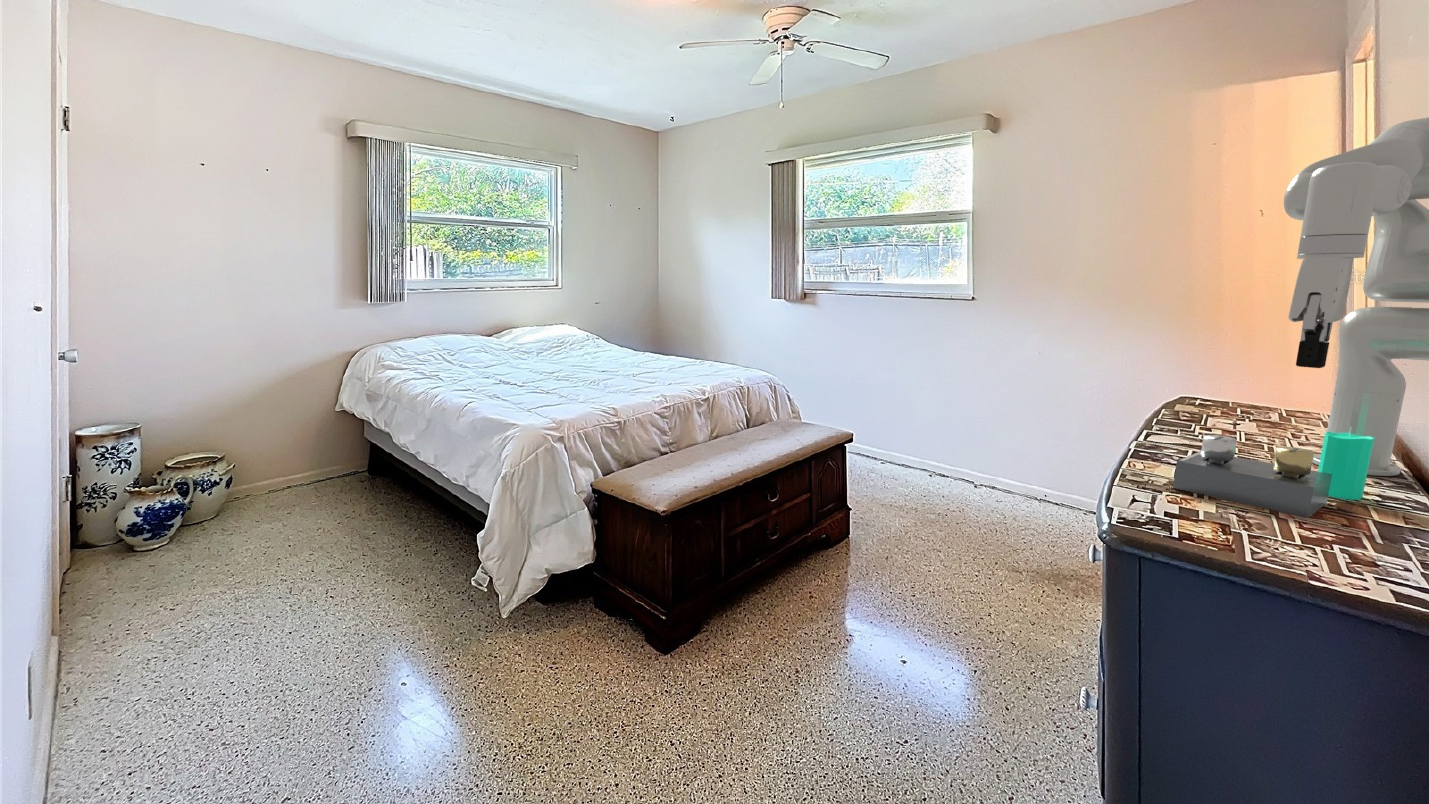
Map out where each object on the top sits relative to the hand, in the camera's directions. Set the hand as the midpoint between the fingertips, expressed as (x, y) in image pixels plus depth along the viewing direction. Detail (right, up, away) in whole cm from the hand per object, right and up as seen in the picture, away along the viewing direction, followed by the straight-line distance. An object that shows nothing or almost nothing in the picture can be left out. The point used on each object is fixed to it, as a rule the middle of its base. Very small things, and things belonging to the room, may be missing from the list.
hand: (1310, 366), depth 101 cm
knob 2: (0, -21, +4) cm, 22 cm away
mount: (-3, -22, +8) cm, 23 cm away
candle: (+13, -22, +9) cm, 27 cm away
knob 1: (-6, -20, +12) cm, 24 cm away
